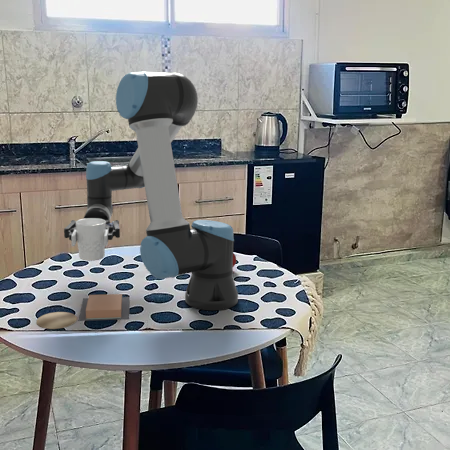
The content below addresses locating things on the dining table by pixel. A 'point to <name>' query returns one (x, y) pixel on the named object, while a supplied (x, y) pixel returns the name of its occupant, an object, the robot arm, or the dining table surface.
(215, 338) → the dining table surface
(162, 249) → the robot arm
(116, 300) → the tile
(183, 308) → the dining table surface
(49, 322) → the coaster
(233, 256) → the onion
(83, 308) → the mat
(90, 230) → the white cup
